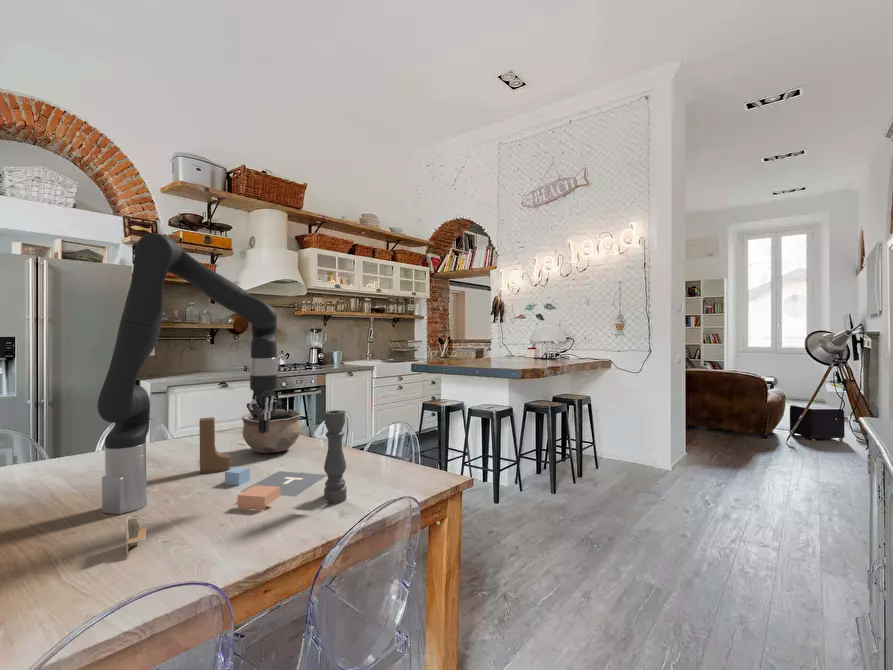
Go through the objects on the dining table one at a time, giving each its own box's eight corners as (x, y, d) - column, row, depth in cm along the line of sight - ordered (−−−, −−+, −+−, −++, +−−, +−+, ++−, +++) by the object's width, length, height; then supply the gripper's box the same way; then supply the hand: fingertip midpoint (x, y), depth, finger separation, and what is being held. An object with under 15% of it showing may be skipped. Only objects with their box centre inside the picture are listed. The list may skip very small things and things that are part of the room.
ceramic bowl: (302, 443, 198) (302, 407, 198) (300, 456, 177) (300, 417, 177) (246, 446, 192) (246, 410, 192) (237, 461, 171) (237, 420, 171)
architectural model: (146, 542, 108) (146, 510, 107) (144, 555, 102) (144, 521, 101) (128, 546, 106) (128, 513, 106) (125, 559, 100) (125, 524, 100)
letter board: (294, 500, 132) (294, 496, 132) (239, 495, 137) (239, 491, 137) (328, 477, 152) (328, 474, 152) (279, 474, 156) (279, 470, 156)
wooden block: (229, 466, 164) (228, 415, 164) (229, 470, 160) (229, 418, 160) (200, 470, 161) (200, 418, 160) (200, 473, 157) (199, 420, 156)
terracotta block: (264, 511, 125) (264, 496, 125) (237, 509, 126) (237, 495, 126) (280, 500, 133) (280, 486, 133) (254, 499, 134) (254, 485, 134)
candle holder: (324, 504, 129) (323, 414, 129) (324, 496, 135) (323, 410, 135) (347, 502, 131) (346, 413, 130) (345, 494, 137) (345, 409, 136)
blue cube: (239, 489, 142) (239, 473, 142) (225, 488, 143) (224, 471, 143) (249, 484, 147) (249, 468, 146) (236, 482, 148) (236, 467, 148)
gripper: (261, 375, 128) (261, 438, 129) (288, 371, 141) (288, 428, 142) (237, 375, 130) (237, 436, 130) (266, 370, 143) (266, 427, 143)
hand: (263, 432), depth 136 cm, fingers closed
